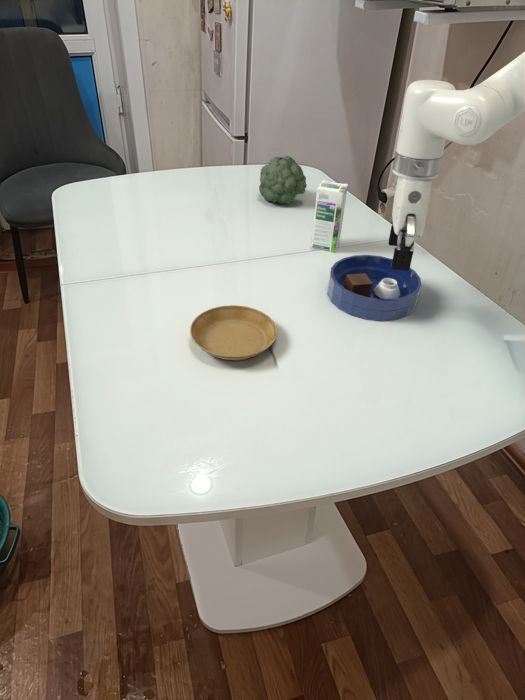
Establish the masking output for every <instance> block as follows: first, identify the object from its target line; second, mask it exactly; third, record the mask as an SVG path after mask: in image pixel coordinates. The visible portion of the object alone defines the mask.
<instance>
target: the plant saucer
mask: <svg viewBox="0 0 525 700" xmlns="http://www.w3.org/2000/svg"><path fill="white" fill-rule="evenodd" d="M189 334H190V337H191V339H192V341H193V342H194V343H195V345H196V346H198V347H199V348H200V349H201V350H202V351H204V352H205V353H206V354H209V355H210V356H213V357H215V358H217V359H221V360H225V361H226V360H227V361H241V360H247V359H250V358H253V357H256V356H258V355H260V354H262V353H263V352H264V351H266V350H267V349H269V348H270V347H271V346H272V345H273V343H274V342H275V340H276V339H277V336H278V328H277V325H276V322H275V321H274V320H273V319H272V318H271V317H270V316H269V315H267V313H265V312H262V311H261V310H258V309H256V308H253V307H250V306H246V305H234V304H233V305H220V306H216V307H211V308H209V309H207V310H204V311H203V312H201V313H200V314H198V315H197V316H195V318H194V319H193V321H192V322H191V324H190V327H189Z"/></svg>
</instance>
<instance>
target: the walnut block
mask: <svg viewBox="0 0 525 700" xmlns="http://www.w3.org/2000/svg"><path fill="white" fill-rule="evenodd" d="M372 286H373V283H372V282H371V280H370V279H369V277H368V276H367V275H366V273H361V274H347V275H346V279H345V285H344V288H345V289H347V290H349V291H351V292H353V293H355V294H358V295H362V296H365V297H369V298H370V296H371V291H372Z"/></svg>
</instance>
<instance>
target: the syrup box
mask: <svg viewBox="0 0 525 700" xmlns="http://www.w3.org/2000/svg"><path fill="white" fill-rule="evenodd" d="M348 186H349V183H340V182H335V181H328V180H322V181H321V183H320V184H319V185H318V187H317V188H316V196H315V207H314V216H313V225H312V226H313V228H312V236H311V242H310V244H311V245H310V251H322V252H327V253H333V254H335V253H336V252H337V250H338V248H339V246H340V243H341V242H340V241H341V235H342V228H343V222H344V214H345V207H346V201H347V194H348V188H349V187H348Z"/></svg>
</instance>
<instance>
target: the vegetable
mask: <svg viewBox="0 0 525 700" xmlns="http://www.w3.org/2000/svg"><path fill="white" fill-rule="evenodd" d="M259 182H260V184H259V187H258V190H259V194H260V195H261V196H262V197H263V198H264V200H265V201H266V202H272V203H278V204H280V205H284V204H290V203H291V201H294V200H295V198H296V196H297V195H304V194H305V192H306V189H307V185H308V184H307V176H306V175H305V174H304V171H303V168H302V167H301V166H300V165H299V164H298V163H297V162H296V160H295V159H293V158H292V157H291V156H289V155H285V156H282V157H281V156H275V157H272V158H271V159H270V160H269V162H267V164H265V165H264V166H262V167H261V168H260V176H259Z"/></svg>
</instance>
